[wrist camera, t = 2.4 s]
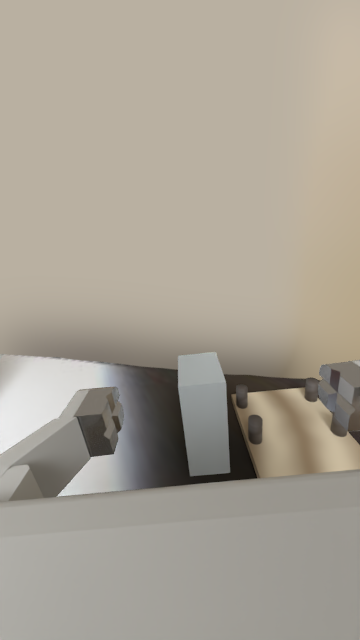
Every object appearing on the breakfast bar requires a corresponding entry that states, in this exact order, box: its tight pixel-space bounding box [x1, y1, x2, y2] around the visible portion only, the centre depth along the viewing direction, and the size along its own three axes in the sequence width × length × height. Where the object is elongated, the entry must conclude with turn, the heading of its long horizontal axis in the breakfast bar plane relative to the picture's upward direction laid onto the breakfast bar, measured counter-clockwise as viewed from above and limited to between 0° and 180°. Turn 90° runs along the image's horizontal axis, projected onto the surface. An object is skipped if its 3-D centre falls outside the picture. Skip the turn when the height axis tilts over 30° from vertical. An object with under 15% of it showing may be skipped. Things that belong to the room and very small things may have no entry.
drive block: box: [178, 352, 230, 476], centre depth 26 cm, size 4×6×12 cm
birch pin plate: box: [231, 378, 360, 478], centre depth 28 cm, size 12×15×4 cm
